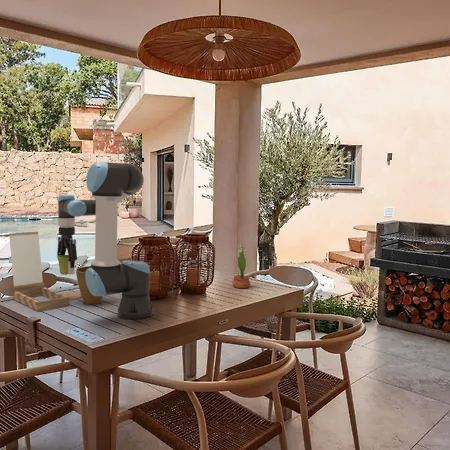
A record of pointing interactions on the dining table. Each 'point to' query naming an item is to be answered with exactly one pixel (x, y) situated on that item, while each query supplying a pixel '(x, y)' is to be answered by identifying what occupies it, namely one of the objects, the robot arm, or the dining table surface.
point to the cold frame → (28, 291)
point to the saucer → (72, 295)
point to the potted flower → (241, 271)
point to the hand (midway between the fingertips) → (67, 272)
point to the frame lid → (25, 258)
